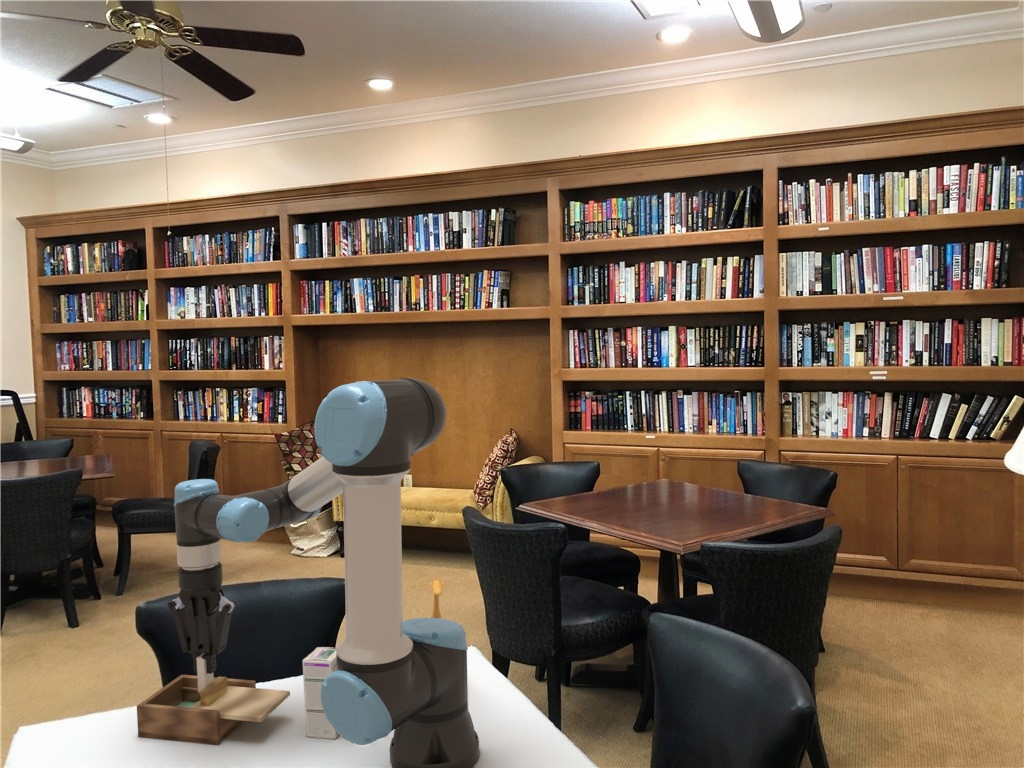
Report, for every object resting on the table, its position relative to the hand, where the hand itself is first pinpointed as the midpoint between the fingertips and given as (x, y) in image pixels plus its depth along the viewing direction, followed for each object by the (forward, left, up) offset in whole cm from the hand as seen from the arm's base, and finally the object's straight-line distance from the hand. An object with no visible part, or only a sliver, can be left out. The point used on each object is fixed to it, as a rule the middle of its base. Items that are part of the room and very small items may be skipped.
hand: (206, 689), depth 144 cm
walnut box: (+2, +1, -7) cm, 7 cm away
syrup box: (-20, -11, -7) cm, 24 cm away
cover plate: (-6, -3, -3) cm, 7 cm away
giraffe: (-26, -34, -7) cm, 44 cm away
